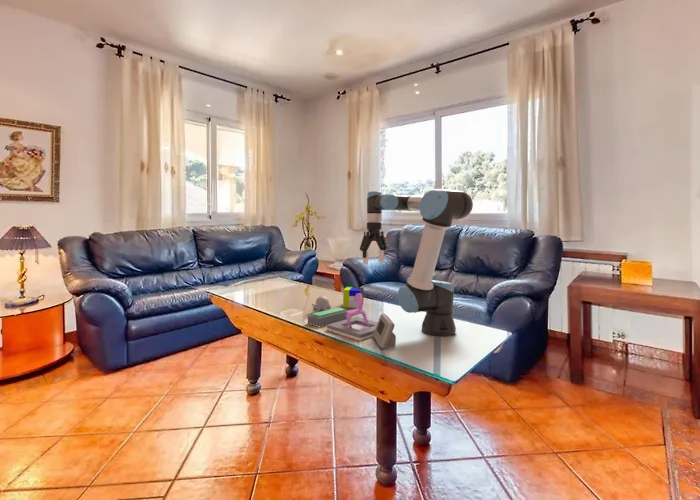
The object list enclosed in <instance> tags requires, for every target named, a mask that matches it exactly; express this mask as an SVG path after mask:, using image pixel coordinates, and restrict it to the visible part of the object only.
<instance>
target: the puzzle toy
mask: <svg viewBox="0 0 700 500" xmlns="http://www.w3.org/2000/svg"><path fill="white" fill-rule="evenodd" d="M364 289H365V288H364V287H358V286H357V287H354V286H346V287H345V288H344V289H343V294H342V296H343V297H342V299H343V300H342V307H343V308H353V309H357V308H358V305H356V303H355V295H356V294H357V293H361V297H362V306H363V305H364V291H365V290H364Z"/></svg>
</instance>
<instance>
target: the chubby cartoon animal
mask: <svg viewBox="0 0 700 500" xmlns="http://www.w3.org/2000/svg"><path fill="white" fill-rule="evenodd" d="M311 305H312V310H311V312H312V314H313V313H317V312H321V311H326V310H330V309H332V306H331V305H330V300H329V298H328V297H327V296H325V295H321V296H318V297H317V298H316V300H315V304H314V303H311Z"/></svg>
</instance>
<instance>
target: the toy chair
mask: <svg viewBox="0 0 700 500" xmlns="http://www.w3.org/2000/svg"><path fill="white" fill-rule="evenodd" d="M355 303H356V305H358V308H353V309H349V310H348V311H347V313H346V318H347V323H348V326H349V327H350V328H352V326H351V323H350V320H351V318H353V317H354V316H355V317H356V316H357V315H361V316H362V318H363V319H364V322H365V323H366V324H367V325H368V326H370V325H369V323H368V321H367V320H368V317H367V314H366V312H365V310H363V305H362V297H361V293H357V294H356V295H355Z"/></svg>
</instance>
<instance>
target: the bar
mask: <svg viewBox="0 0 700 500" xmlns="http://www.w3.org/2000/svg"><path fill="white" fill-rule="evenodd" d="M346 310H347V309H345V308H342V307H334V308H331V309H330V310H326V311H321V312H319V311H318V312H317V313H313V312H312V316H315V317H318V318H320V317H324V316H328V315H332V314H336V313H340V312H344V311H346Z"/></svg>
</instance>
